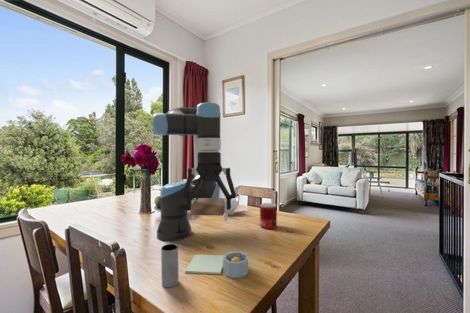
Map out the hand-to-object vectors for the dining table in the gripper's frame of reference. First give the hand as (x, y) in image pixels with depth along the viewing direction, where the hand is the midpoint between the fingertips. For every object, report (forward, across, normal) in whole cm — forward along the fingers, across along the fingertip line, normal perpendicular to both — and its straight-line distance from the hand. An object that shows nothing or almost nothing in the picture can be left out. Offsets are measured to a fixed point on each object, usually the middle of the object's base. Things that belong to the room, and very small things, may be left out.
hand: (209, 218), depth 72 cm
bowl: (+15, +9, -4) cm, 18 cm away
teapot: (+17, +1, +61) cm, 63 cm away
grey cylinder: (+15, -9, -11) cm, 21 cm away
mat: (+15, -1, -1) cm, 15 cm away
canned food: (+16, +22, +37) cm, 46 cm away
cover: (-3, 0, 0) cm, 3 cm away
